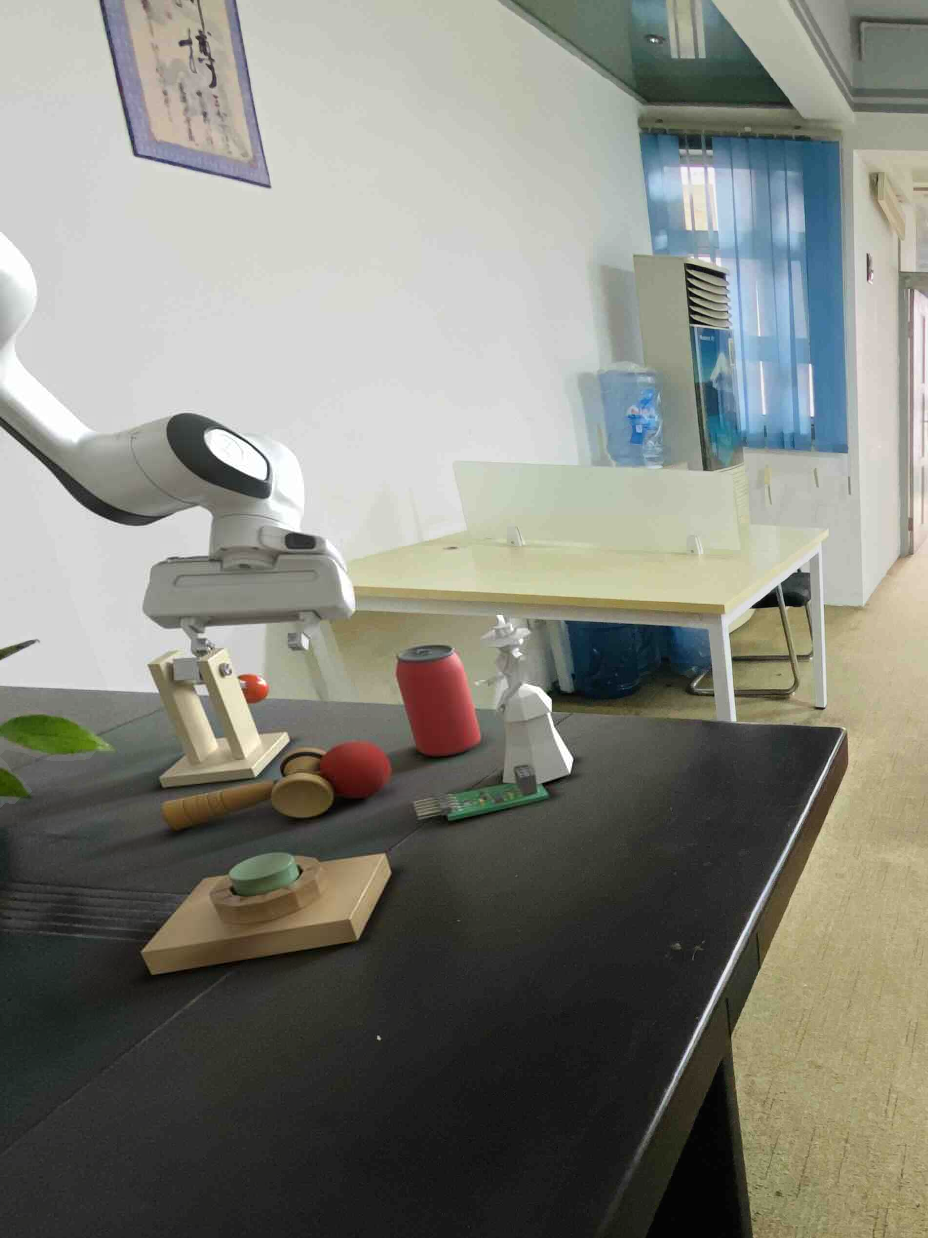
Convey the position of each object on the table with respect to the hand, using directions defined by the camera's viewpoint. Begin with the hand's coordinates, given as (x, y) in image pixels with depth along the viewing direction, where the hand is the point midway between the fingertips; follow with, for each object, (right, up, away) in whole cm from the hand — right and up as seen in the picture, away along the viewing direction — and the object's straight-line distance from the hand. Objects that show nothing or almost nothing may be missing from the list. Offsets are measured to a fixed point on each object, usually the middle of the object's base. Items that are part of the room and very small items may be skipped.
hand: (250, 651), depth 98 cm
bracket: (+4, -13, -7) cm, 16 cm away
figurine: (+39, -14, -7) cm, 42 cm away
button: (+31, -22, -33) cm, 51 cm away
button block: (+31, -26, -31) cm, 51 cm away
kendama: (+18, -18, -15) cm, 30 cm away
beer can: (+25, -12, -1) cm, 28 cm away
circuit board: (+37, -18, -13) cm, 43 cm away
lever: (+3, -6, -6) cm, 9 cm away
